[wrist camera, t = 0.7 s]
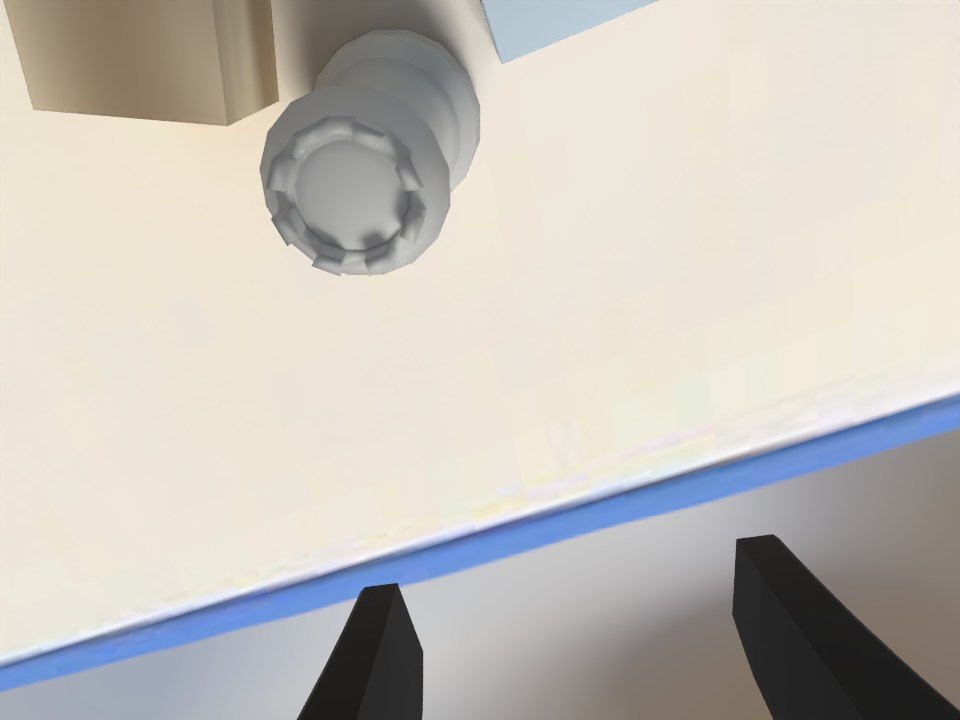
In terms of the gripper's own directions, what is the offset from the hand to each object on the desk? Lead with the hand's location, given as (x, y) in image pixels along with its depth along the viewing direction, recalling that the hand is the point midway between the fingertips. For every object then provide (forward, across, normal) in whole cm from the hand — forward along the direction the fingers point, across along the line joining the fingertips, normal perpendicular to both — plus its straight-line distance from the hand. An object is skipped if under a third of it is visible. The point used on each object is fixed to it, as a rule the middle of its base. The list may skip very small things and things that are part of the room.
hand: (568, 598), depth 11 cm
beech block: (+10, +7, -10) cm, 16 cm away
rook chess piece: (+11, +2, -7) cm, 13 cm away
